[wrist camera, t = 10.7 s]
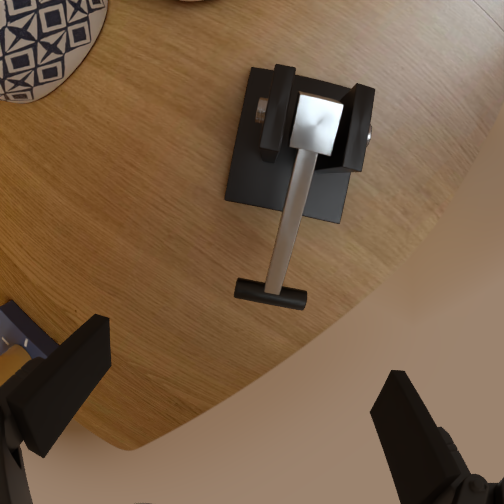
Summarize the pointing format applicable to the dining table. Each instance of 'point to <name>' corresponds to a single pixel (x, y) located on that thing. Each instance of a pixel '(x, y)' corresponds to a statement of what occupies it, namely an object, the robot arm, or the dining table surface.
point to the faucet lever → (296, 197)
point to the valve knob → (12, 362)
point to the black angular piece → (282, 156)
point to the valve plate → (23, 332)
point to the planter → (44, 43)
